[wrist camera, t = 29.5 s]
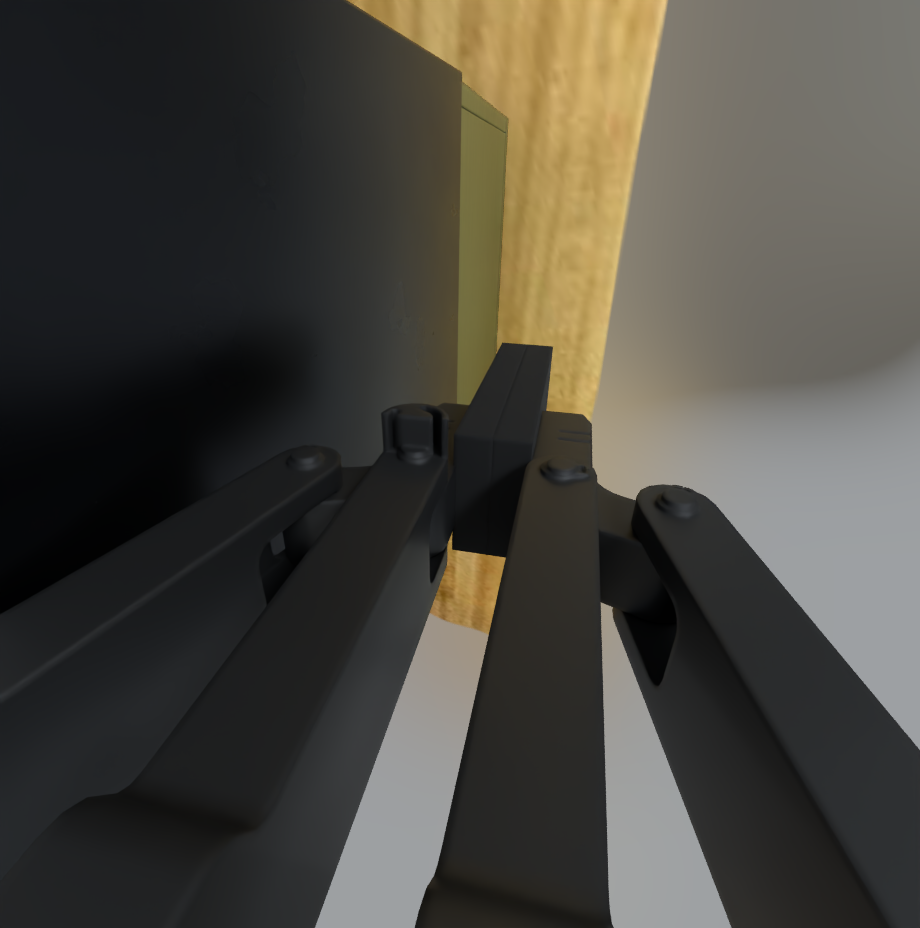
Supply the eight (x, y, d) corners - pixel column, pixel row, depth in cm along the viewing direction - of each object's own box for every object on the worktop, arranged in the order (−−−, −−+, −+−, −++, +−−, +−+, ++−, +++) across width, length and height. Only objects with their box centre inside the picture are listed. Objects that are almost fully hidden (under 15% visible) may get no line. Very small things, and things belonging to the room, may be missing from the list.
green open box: (279, 377, 42) (152, 458, 30) (239, 118, 34) (38, 81, 21) (493, 398, 39) (450, 497, 27) (508, 117, 31) (454, 73, 18)
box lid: (158, 949, 11) (190, 964, 11) (-802, -625, 2) (-732, -686, 2) (440, 500, 26) (456, 503, 26) (440, 72, 18) (462, 71, 18)
